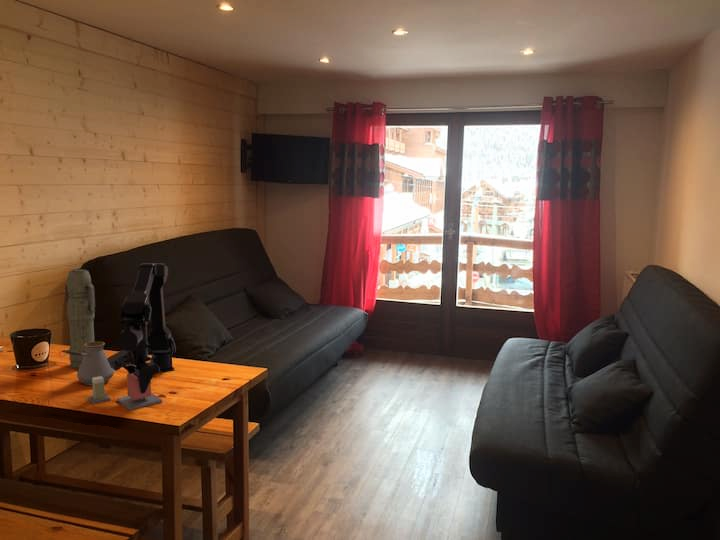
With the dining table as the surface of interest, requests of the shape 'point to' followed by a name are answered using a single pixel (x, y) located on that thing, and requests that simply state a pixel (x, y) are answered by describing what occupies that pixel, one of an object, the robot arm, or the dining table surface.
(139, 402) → the grey plate with post
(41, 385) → the dining table surface
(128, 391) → the red rectangular block
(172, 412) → the dining table surface
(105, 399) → the grey base with block
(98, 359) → the coffee pot
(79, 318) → the grey figurine statue
